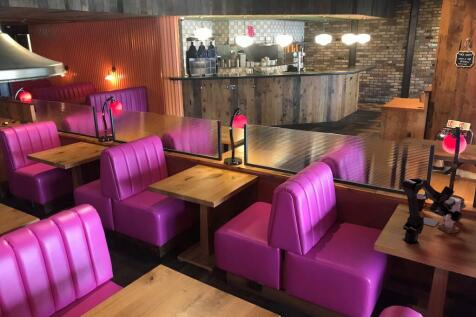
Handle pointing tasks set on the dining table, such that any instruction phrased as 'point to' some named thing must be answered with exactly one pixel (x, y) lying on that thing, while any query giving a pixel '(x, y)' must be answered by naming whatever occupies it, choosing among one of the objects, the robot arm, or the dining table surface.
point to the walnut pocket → (454, 229)
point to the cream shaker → (448, 222)
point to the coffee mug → (421, 202)
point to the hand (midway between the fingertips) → (450, 218)
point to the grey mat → (430, 222)
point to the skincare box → (455, 206)
